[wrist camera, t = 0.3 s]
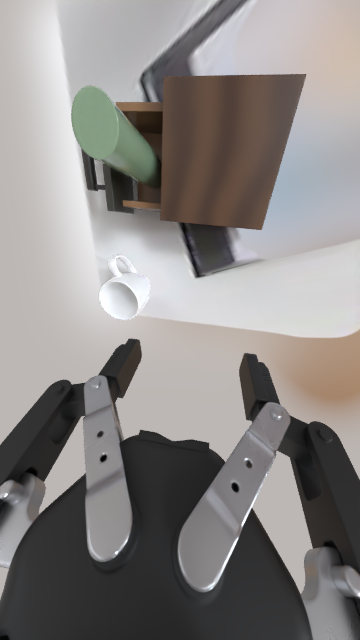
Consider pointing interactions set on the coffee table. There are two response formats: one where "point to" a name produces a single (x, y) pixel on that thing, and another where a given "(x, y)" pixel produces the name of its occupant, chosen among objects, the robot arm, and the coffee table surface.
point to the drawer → (119, 185)
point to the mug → (124, 291)
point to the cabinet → (224, 146)
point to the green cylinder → (113, 137)
